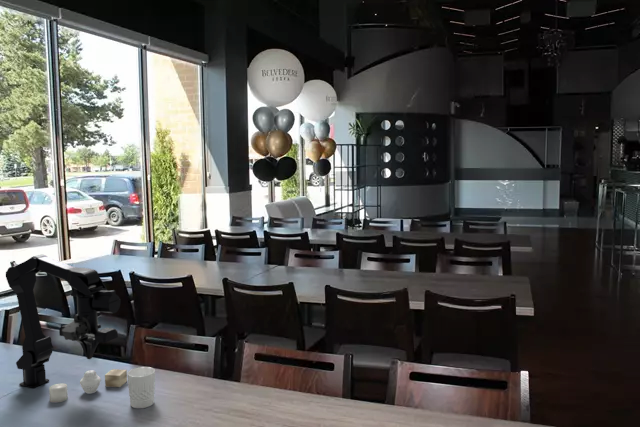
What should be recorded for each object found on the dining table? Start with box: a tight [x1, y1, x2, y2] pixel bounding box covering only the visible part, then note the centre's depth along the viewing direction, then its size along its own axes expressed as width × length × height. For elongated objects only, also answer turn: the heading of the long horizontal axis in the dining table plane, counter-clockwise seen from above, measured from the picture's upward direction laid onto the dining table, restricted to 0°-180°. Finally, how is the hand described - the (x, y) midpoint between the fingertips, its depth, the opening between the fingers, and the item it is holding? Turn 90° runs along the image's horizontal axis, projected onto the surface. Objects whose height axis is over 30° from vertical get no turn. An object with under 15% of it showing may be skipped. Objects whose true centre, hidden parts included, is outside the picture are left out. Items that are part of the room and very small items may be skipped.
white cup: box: [127, 366, 156, 409], centre depth 170 cm, size 8×8×10 cm
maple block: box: [104, 368, 128, 388], centre depth 185 cm, size 5×5×4 cm
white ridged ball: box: [79, 369, 102, 395], centre depth 179 cm, size 6×6×7 cm
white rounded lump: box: [48, 382, 69, 404], centre depth 174 cm, size 5×5×4 cm
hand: (89, 358), depth 178 cm, fingers closed
